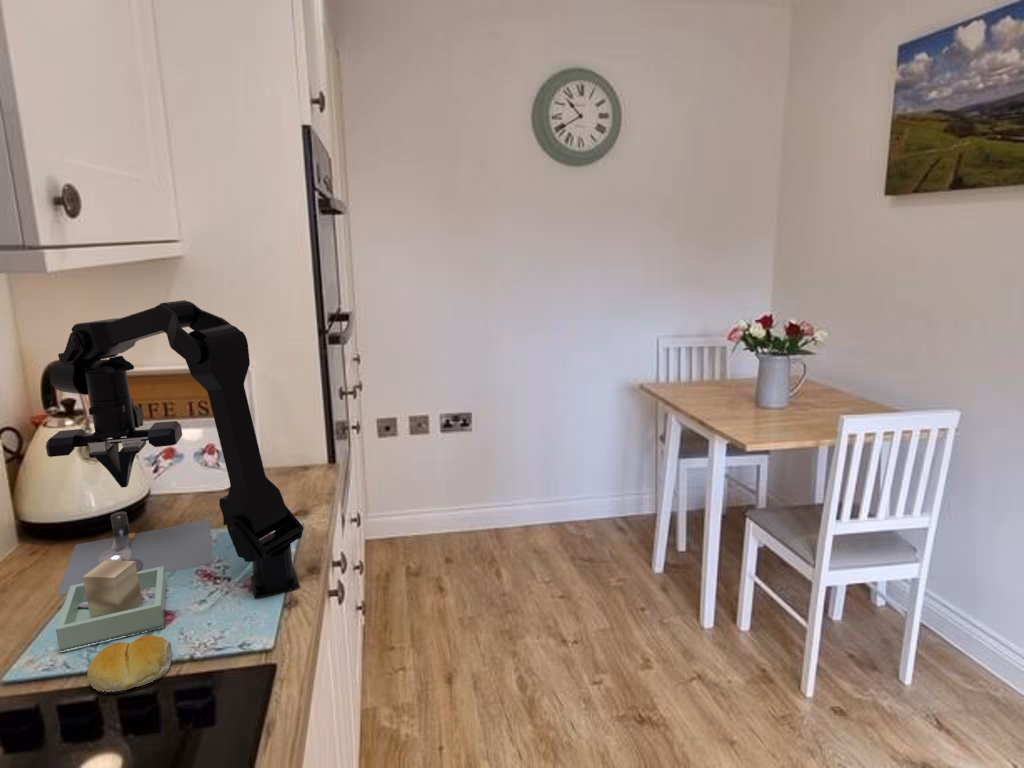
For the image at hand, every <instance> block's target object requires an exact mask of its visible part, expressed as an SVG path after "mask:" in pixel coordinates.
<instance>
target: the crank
mask: <svg viewBox="0 0 1024 768" xmlns="http://www.w3.org/2000/svg"><path fill="white" fill-rule="evenodd" d="M127 513H128V512H127V511H117V512H114V513H112V514H111V515H110V521H111V528H112V533H113V538H114V541H113V545H112V548H111V549H109V550H106V551H104V552H102V553H101V554H100V555H99V556H98V559H99V564H101V563H102V562H104V561H105V560H106V561H133V560H132V554H131V549H130V548H129V542H130V538H129V534H130V533H131V529H130V524H129V518H128V514H127Z"/></svg>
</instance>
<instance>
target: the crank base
mask: <svg viewBox="0 0 1024 768" xmlns="http://www.w3.org/2000/svg"><path fill="white" fill-rule="evenodd" d="M210 533H211V531H210V519H207V520H205V519H204V520H201V521H195V522H190V523H184V524H180V525H174V526H169V527H163V528H159V529H153V530H152V529H151V530H147V531H141V532H136V533H135V532H132V533H131V532H130V533H129V538H130V542H129V548H130V549H131V554H132V560H133V561H135V563H136V569H137V572H138V571H143V570H148V569H153V568H157V567H162V566H164V571H165V574H166V573H170V572H175V571H181V570H183V569H184V570H185V569H189V568H192V567H199V566H204V565H207V564H212V563H213V559H212V546H211V534H210ZM113 541H114V537H111V538H105V539H104V538H103V539H99V540H95V541H90V542H89V541H88V542H84V543H83V542H82V543H77V544H75V546H74V548H73V551H72V553H71V556H70V558H69V561H68V565H67V567H66V570H65V573H64V575H63V578H62V580H61V583H60V586H59V588H58V591H57V594H56V596H57V597H58V596H62V595H68V592H69V589H70V586H71V585H76V584H81V583H84V581H83V576H85V575H86V574H87V573H89V572H90V571H91V570H93V569H94V568H96V567H97V566H98V565H100V564H99V559H98V556H99V555H100V554H101V553H102V552H104V551H106V550H109V549H111V548H112V545H113Z"/></svg>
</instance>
